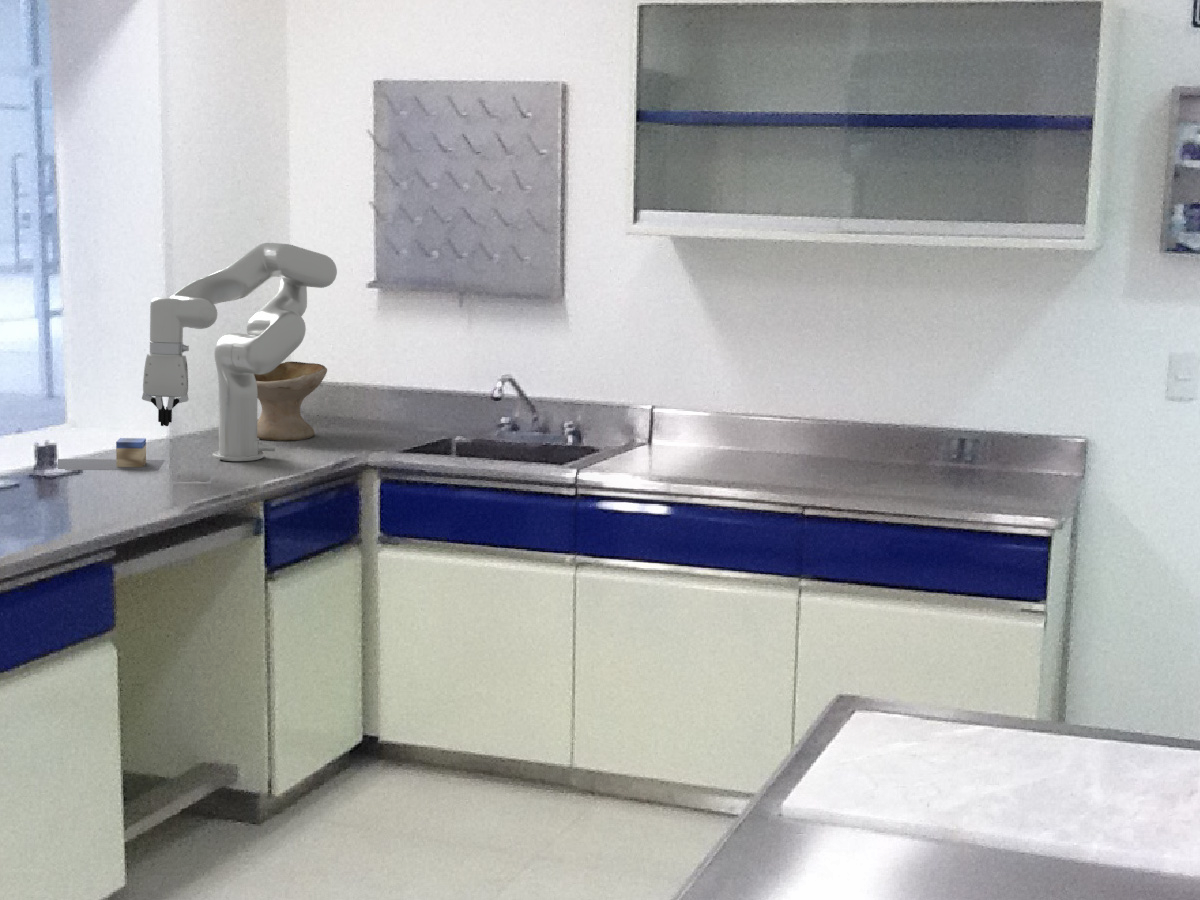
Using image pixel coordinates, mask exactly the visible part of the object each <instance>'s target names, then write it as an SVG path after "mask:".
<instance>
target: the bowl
mask: <svg viewBox="0 0 1200 900" xmlns="http://www.w3.org/2000/svg"><path fill="white" fill-rule="evenodd" d="M327 373H328V368H327V367H326V366H325V365H323V364H320V363H314V362H312V363H311V362H300V361H285V362H282V363H280V364H279V365H278V366H277V367H276V368H275V369H274V370H272V371H271V372H269V373H266V374H261V375H260V374H254V376H255V379H256V383H257V391H258V397H257V400H259V402H260V405H261V413H260V417H259V418H257V438H259V440H266V441H284V442H285V441H288V442H293V441H295V442H296V441H301V440H307V439H311V438H312V437H315V430H314V428H313V426H311V425H310V424H309V423H308V422H306V420H305V419H304V418H303V416H302V415H301V406H302V403H303V401H304V400H305V398H306V397H308V396H309V395H310V394H311V393H312V392H315V390H316V389H317V388H318V387H319V386H320V385H321V383H322V382H323V380H324V379H325V377H326V375H327Z"/></svg>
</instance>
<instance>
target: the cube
mask: <svg viewBox="0 0 1200 900" xmlns="http://www.w3.org/2000/svg"><path fill="white" fill-rule="evenodd" d="M115 446H116V447H115V453H116V455H115V456H116V457H115V458H116V464H117V467H143V466H144V465H145V464H146V460H147V438H145V437H144V438H143V437H141V438H139V437H138V438H137V437H135V438H134V437H123V438H122V437H120V438H119V439H118V440H117V441H116V442H115Z"/></svg>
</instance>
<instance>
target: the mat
mask: <svg viewBox="0 0 1200 900" xmlns="http://www.w3.org/2000/svg"><path fill="white" fill-rule="evenodd" d="M57 459H58V469H65V470H66V471H67V470H68V471H70V470H71V471H75V470H76V471H78V470H80V471H159V470H160V468H161V467H162V465H164V463H165V461H166V460H165V459H146V464H145V465H144V466H143V467H117V464H116V459H113V458H112V459H108V458H107V459H105V458H103V459H102V458H101V459H100V458H99V459H97V458H95V459H92V458H90V459H89V458H87V459H86V458H84V459H83V458H57ZM65 470H64V471H65Z"/></svg>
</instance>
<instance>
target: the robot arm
mask: <svg viewBox="0 0 1200 900" xmlns="http://www.w3.org/2000/svg"><path fill="white" fill-rule="evenodd" d="M337 273H338V268H337V265H336V263H335V261H334V260H333V259H332V258H331V257H330V256H328V255H327V254H324V253H323V254H322V253H320V252H317V251H313V250H310V249H306V248H304V247H300V246H297V245H294V244H289V243H279V242H278V243H277V242H264V243H260V244H258V245H256V246H255V247H253V248H252V249H251V250H249V251H248V252H246V253H245V254H244V255H242V256H241V257H239V258H238V259H237V260H235V261H234V262H232V263H231V264H230V265H228V266H226V267H225V268H223V269H221V270H218V271H216V272H213V273H211V274H208V275H206V276H204V277H201V278H199V279H196V280H194V281H192V282H190V283H188V284H187V285H185V286H183V287H182V288H180V289H179V290H178V291H175V293H174V294H173V295H171V296H170V297H154V298H152V299H151V301H150V307H149V308H150V309H149V310H150V311H149V312H150V315H149V353H146V357H145V361H144V367H143V368H144V369H143V379H142V381H143V382H142V383H143V384H142V391H143V392H142V396H141V399H142V400H143V401H146V402H148V403H149V402H150V403H151V404H153V405H154V406H155V407H156V409H157V414H158V415H157V421H158V423H160V426H161V427H169V426H170V423H172V421H173V409H174V408H175V407H176V406H177V405H178V404H182V403H186V402H188V401H189V400H190V398H189V393H188V392H189V371H188V369H189V368H188V360H187V356H186V355H183V354H184V353H185V352H189V351H190V346H189V345H186V344H184V341H183V340H184V338H183V337H184V328H190V329H195V330H205V329H207V328H210V327H211V326H213V325H214V324H215V322H217V319H218V310H217V307H216V304H217V305H218V304H222V303H227V302H234V301H237V300H239V299H243V298H245V297H247V296H249V295H250V294H252V293H253V292H254V291H256V290H257V289H258V288H260V287H261V286H263V285H264V284H265V283H267V282H268V281H269V280H271V279H272V278H275V277H277V278H279V283H280V284H279V289H278V292H276V294H275V295H274V296H273V297H272V298H271V299H270V300H269V301H268V302H266V304H264V305H263V306H262V307H261V308H260V309H259V310H257V311H256V313H254V314H253V315H252V317H250V318H249V320H248V321H247V323H246V324H247V325H246V333H239V332H238V333H237V332H232V333H227V334H225V335H223V336H221V337H220V338H219V339H218V340H217V342H216V344H215V347H214V361H215V366H216V372H217V381H218V382H217V384H218V450H216V451H214V452H212V457H213V459H217V460H218V459H219V460H220V461H226V462H251V461H258V460H262V459H263V458H264V456H265V455H264V452H276V444H275V443H268V442H267V443H263V442H260V439H259V438H257V420H258V398H257V397H258V391H257V383H256V379H255V376H254V374H260V375H261V374H266V373H269V372H271V371H272V370H274V369H275V368H276V367H277V366H278V365H279V364H281V363H284V361H285V360H286V359H287V358H288V357H289V356H290V355H291V354H292V353H294V351H296V350H297V348H299V346H300V345H301V344H302V343H303V340H304V338H305V337H306V331H307V329H306V322H305V320H304V319H303V316H304V314H305V312H306V309H307V307H308V289H307V288H315V289H317V288H319V289H322V288H323V289H324V288H326V287H329V286H331V285H332V284H333V283H334V282H335V280H336V279H337ZM163 397H165V398H168V399H167V400H168V401H167V405H166V406H164V401H163Z"/></svg>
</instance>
